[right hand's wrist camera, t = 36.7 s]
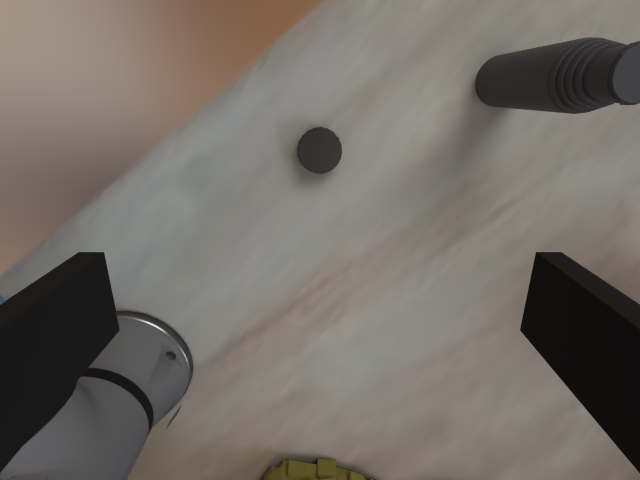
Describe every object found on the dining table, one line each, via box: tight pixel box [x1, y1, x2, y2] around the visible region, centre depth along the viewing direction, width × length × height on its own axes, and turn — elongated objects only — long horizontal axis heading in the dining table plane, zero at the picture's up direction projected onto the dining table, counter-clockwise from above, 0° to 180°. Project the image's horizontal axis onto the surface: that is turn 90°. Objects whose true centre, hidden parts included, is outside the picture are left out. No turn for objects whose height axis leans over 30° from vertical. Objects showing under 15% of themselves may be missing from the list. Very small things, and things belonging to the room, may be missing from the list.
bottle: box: [476, 38, 640, 114], centre depth 31 cm, size 5×5×19 cm
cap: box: [298, 128, 342, 173], centre depth 42 cm, size 5×5×2 cm
